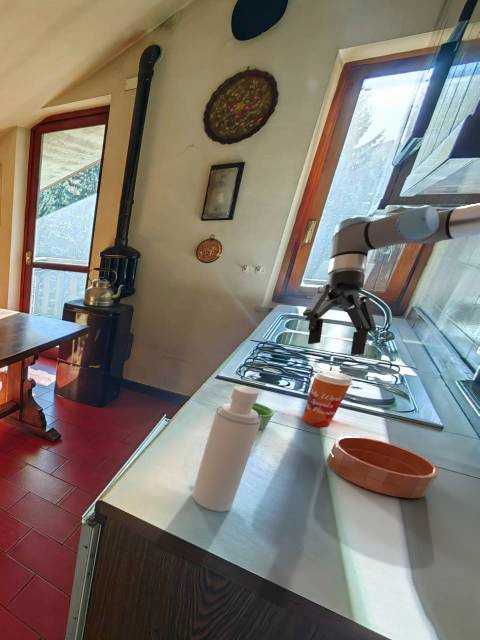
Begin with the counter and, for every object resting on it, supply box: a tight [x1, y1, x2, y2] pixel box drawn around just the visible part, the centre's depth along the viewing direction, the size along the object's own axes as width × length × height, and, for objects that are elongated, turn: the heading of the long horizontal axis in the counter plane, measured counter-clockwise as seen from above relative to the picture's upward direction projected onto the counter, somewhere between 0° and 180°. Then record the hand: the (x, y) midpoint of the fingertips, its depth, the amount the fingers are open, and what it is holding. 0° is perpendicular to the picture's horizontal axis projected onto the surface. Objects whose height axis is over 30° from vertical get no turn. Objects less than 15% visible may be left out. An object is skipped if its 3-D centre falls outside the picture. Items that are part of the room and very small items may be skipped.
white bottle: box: [191, 385, 262, 513], centre depth 70 cm, size 7×7×25 cm
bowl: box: [326, 435, 439, 499], centre depth 82 cm, size 15×15×6 cm
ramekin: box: [252, 402, 275, 430], centre depth 104 cm, size 9×9×4 cm
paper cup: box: [301, 369, 354, 429], centre depth 103 cm, size 8×8×14 cm
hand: (335, 348), depth 106 cm, fingers open, 13 cm apart
